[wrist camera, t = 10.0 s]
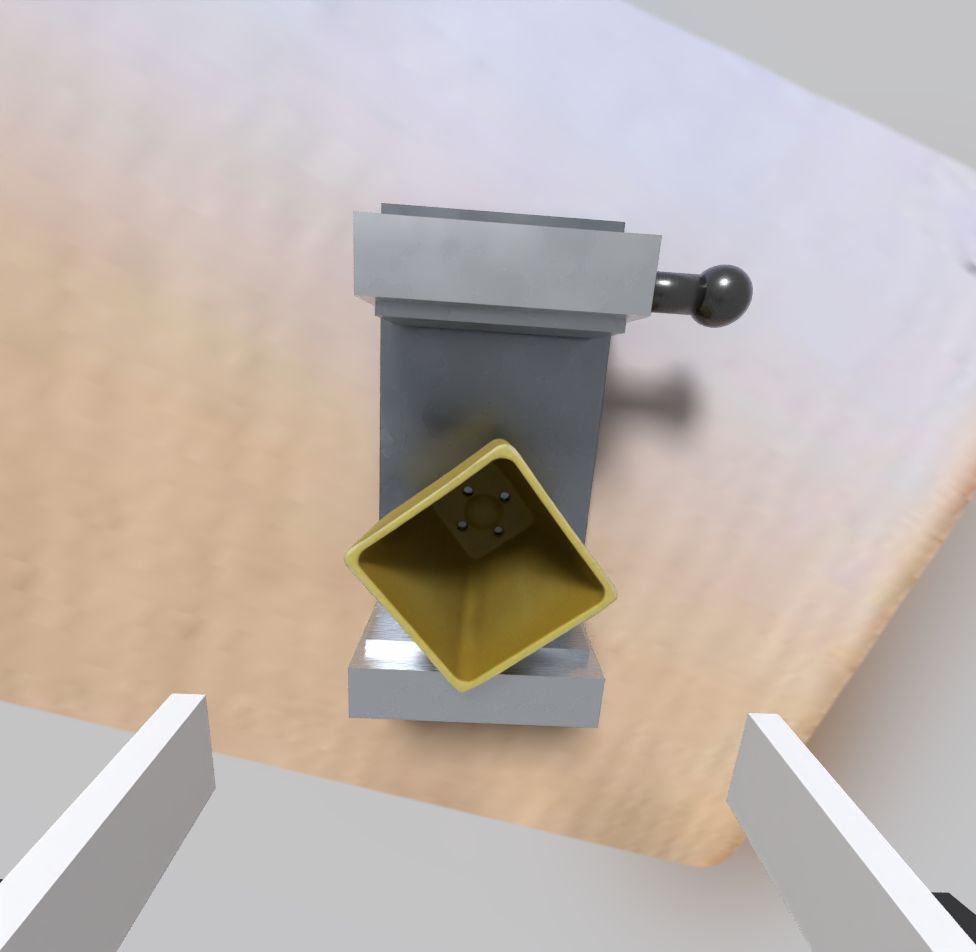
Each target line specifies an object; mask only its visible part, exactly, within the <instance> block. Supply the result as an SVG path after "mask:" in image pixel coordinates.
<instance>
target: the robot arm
mask: <svg viewBox="0 0 976 952" xmlns="http://www.w3.org/2000/svg"><path fill="white" fill-rule="evenodd" d="M215 788H216V787H215V777H214V768H213V758H212V749H211V740H210V730H209V721H208V711H207V702H206V695H200V694H171V695H170V697H169V698H168V699H167V700H166V701H165V702H164V703H163V704H162V705H161V707H160V708H159V709H158V710H157V711H156V712H155V713H154V714H153V715H152V716H151V718H150V719H149V720H148V721H147V722H146V723H145V724H144V725H143V726H142V727H141V729H140V730H139V731H138V732H137V733H136V734H135V735H134V736H133V737H132V739H131V740H130V741H129V742H128V743H127V744H126V745H125V746H124V747H123V748H122V749H121V751H120V752H119V753H118V754H117V755H116V756H115V757H114V758H113V759H112V760H111V762H110V763H109V764H108V765H107V766H106V767H105V768H104V769H103V770H102V772H101V773H100V774H99V775H98V776H97V777H96V778H95V779H94V780H93V781H92V783H91V784H90V785H89V786H88V787H87V788H86V789H85V790H84V791H83V792H82V794H81V795H80V796H79V797H78V798H77V799H76V800H75V801H74V802H73V804H72V805H71V806H70V807H69V808H68V809H67V810H66V811H65V812H64V813H63V815H62V816H61V817H60V818H59V819H58V820H57V821H56V822H55V823H54V824H53V826H52V827H51V828H50V829H49V830H48V831H47V832H46V833H45V834H44V835H43V837H42V838H41V839H40V840H39V841H38V842H37V843H36V844H35V845H34V846H33V848H32V849H31V850H30V851H29V852H28V853H27V854H26V855H25V856H24V857H23V859H22V860H21V861H20V862H19V863H18V864H17V865H16V866H15V867H14V869H13V870H12V871H11V872H10V873H9V874H8V875H7V876H6V877H5V878H4V879H0V952H117V950H118V948H119V947H120V945H121V943H122V942H123V940H124V938H125V937H126V935H127V933H128V932H129V930H130V928H131V927H132V925H133V923H134V922H135V920H136V918H137V917H138V915H139V914H140V912H141V910H142V908H143V907H144V905H145V904H146V902H147V900H148V899H149V897H150V895H151V894H152V892H153V890H154V889H155V887H156V885H157V884H158V882H159V880H160V879H161V877H162V876H163V874H164V872H165V871H166V869H167V867H168V866H169V864H170V862H171V861H172V859H173V857H174V856H175V854H176V852H177V851H178V849H179V847H180V846H181V844H182V843H183V841H184V839H185V837H186V836H187V834H188V833H189V831H190V829H191V828H192V826H193V824H194V823H195V821H196V819H197V818H198V816H199V814H200V813H201V811H202V810H203V808H204V806H205V805H206V803H207V801H208V800H209V798H210V796H211V795H212V793H213V791H214V790H215ZM726 801H727V803H728V805H729V806H730V808H731V810H732V812H733V813H734V815H735V817H736V819H737V820H738V822H739V824H740V826H741V827H742V829H743V831H744V833H745V834H746V836H747V838H748V839H749V841H750V843H751V845H752V847H753V848H754V850H755V852H756V854H757V855H758V857H759V859H760V861H761V862H762V864H763V866H764V868H765V869H766V871H767V873H768V874H769V876H770V878H771V880H772V882H773V883H774V885H775V887H776V889H777V890H778V892H779V894H780V896H781V897H782V899H783V901H784V903H785V904H786V906H787V908H788V910H789V911H790V913H791V915H792V917H793V918H794V920H795V922H796V924H797V925H798V927H799V929H800V931H801V932H802V934H803V936H804V938H805V939H806V941H807V943H808V945H809V946H810V948H811V950H812V951H813V952H976V915H975V914H974V913H973V912H971V911H970V910H969V909H968V908H967V907H965V906H964V905H963V904H962V903H960V902H959V901H958V900H957V899H956V898H954V897H953V896H952V895H951V894H950V893H933V892H930V891H929V890H928V888H927V887H926V886H925V885H924V884H923V883H922V882H921V880H920V879H919V878H918V877H917V876H916V874H915V873H914V872H913V871H912V870H911V869H910V868H909V866H908V865H907V864H906V863H905V862H904V861H903V859H902V858H901V857H900V856H899V855H898V853H896V851H895V850H894V849H893V848H892V847H891V845H890V844H889V843H888V842H887V841H886V840H885V838H884V837H883V836H882V835H881V834H880V832H879V831H878V830H877V829H876V828H875V827H874V825H873V824H872V823H871V822H870V821H869V820H868V818H867V817H866V816H865V815H864V814H863V813H862V812H861V810H860V809H859V808H858V807H857V806H856V805H855V803H854V802H853V801H852V800H851V799H850V798H849V796H848V795H847V794H846V793H845V792H844V791H843V789H842V788H841V787H840V786H839V785H838V784H837V782H836V781H835V780H834V779H833V778H832V777H831V775H830V774H829V773H828V772H827V771H826V770H825V769H824V767H823V766H822V765H821V764H820V763H819V761H818V760H817V759H816V758H815V757H814V756H813V754H812V753H811V752H810V751H809V750H808V749H807V747H806V746H805V745H804V744H803V743H802V742H801V740H800V739H799V738H798V737H797V736H796V735H795V733H794V732H793V731H792V730H791V729H790V728H789V726H788V725H787V724H786V723H785V722H784V721H783V719H782V718H781V717H780V716H779V715H778V714H760V713H748V715H747V719H746V723H745V727H744V731H743V735H742V739H741V743H740V747H739V751H738V755H737V759H736V763H735V768H734V772H733V776H732V780H731V784H730V788H729V792H728V796H727V800H726Z"/></svg>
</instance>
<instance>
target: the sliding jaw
mask: <svg viewBox="0 0 976 952" xmlns="http://www.w3.org/2000/svg"><path fill="white" fill-rule="evenodd" d="M353 217H354V295H355V296H357V297H359V298H361V299H363V300H364V301H366V302H368V303H370V304H372V305H374V306H375V316H377V317H380V318H382V319H384V320H386V321H389V322H391V323H393V324H395V325H407V326H421V327H436V328H450V329H464V330H479V331H493V332H507V333H521V334H536V335H550V336H564V337H579V338H593V339H597V338H602V337H607V336H612V335H617V334H622V333H625V326H626V323H627V322H631V321H634V320H638V319H642V318H645V317H649V316H650V314H651V312H654V313H668V314H682V315H691V317H692V318H693V319H694V320H695V321H696V322H697V323H699V324H701V325H703V326H706V327H711V328H718V327H723V326H727V325H729V324H731V323H733V322H735V321H736V320H737V319H739V318H740V317H741V316H742V315H743V314H744V313H745V311H746V310H747V308H748V307H749V305H750V302H751V299H752V294H753V287H752V282H751V280H750V278H749V276H748V275H747V274H746V273H745V272H744V271H743V270H742V269H740V268H738V267H736V266H733V265H718V266H714V267H711V268H709V269H707V270H706V271H704V272H703V273H701V274H700V275H699V274H685V273H672V272H659V271H657V266H658V259H659V252H660V246H661V239H662V235H650V234H637V233H624V232H611V231H598V230H585V229H572V228H560V227H547V226H534V225H521V224H508V223H495V222H482V221H469V220H457V219H444V218H431V217H418V216H405V215H392V214H379V213H366V212H354V211H353Z"/></svg>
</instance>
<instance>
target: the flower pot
mask: <svg viewBox="0 0 976 952" xmlns="http://www.w3.org/2000/svg"><path fill="white" fill-rule="evenodd" d="M465 487H471V488H472V489H473V493H472V494H471V495H466V494H465V493H464V488H465ZM503 492H506V493H508V494H509V499H508V500H507V501H502V500H501V498H500V495H501V494H502V493H503ZM461 521H464V522H466V523H467V527H466V528H465V529H460V528H459V527H458V523H459V522H461ZM496 527H501V528H502V529H503V533H502V534H501V535H496V534H495V533H494V529H495V528H496ZM344 561H345V563H346V565H347V566H348V568H349V569H350V570H351V571H352V572H353V574H354V575H355V576H356V577H357V578H358V579H359V580H360V581H361V582H362V584H363V585H364V586H365V587H366V588H367V589H368V590H369V591H370V593H371V594H372V595H373V596H374V597H375V598H376V599H377V600H378V602H379V603H380V604H381V605H382V606H383V607H384V608H385V609H386V610H387V611H388V613H389V614H390V615H391V616H392V617H393V618H394V620H395V621H396V622H397V623H398V624H399V625H400V626H401V628H402V629H403V630H404V631H405V632H406V633H407V634H408V636H409V637H410V638H411V639H412V640H413V642H414V643H415V644H416V645H417V646H418V647H419V648H420V649H421V650H422V652H423V653H424V654H425V655H426V656H427V658H428V659H429V660H430V661H431V663H432V664H433V665H434V666H435V667H436V668H437V669H438V670H439V671H440V673H441V674H442V675H443V676H444V677H445V678H446V680H447V681H448V682H449V683H450V684H451V685H452V686H453V687H454V688H455V689H456V690H457V691H458V692H460V693H464V692H467V691H469V690H472V689H474V688H476V687H478V686H480V685H481V684H483V683H484V682H486V681H488V680H490V679H491V678H493V677H495V676H497V675H498V674H500V673H501V672H503V671H505V670H506V669H508V668H509V667H511V666H513V665H514V664H516V663H517V662H519V661H521V660H522V659H524V658H526V657H527V656H529V655H531V654H532V653H534V652H535V651H537V650H538V649H540V648H542V647H543V646H545V645H546V644H548V643H550V642H551V641H553V640H555V639H556V638H558V637H560V636H561V635H563V634H565V633H566V632H568V631H569V630H571V629H572V628H574V627H576V626H578V625H579V624H581V623H583V622H585V621H586V620H588V619H590V618H591V617H593V616H594V615H596V614H597V613H599V612H600V611H602V610H603V609H605V608H606V607H607V606H608V605H610V604H611V603H612V602H613V601H615V600H616V599H617V597H618V595H617V591H616V589H615V587H614V585H613V584H612V583H611V581H610V580H609V579H608V577H607V576H606V575H605V573H604V572H603V570H602V569H601V568H600V566H599V565H598V564H597V562H596V561H595V560H594V558H593V557H592V556H591V554H590V553H589V551H588V550H587V549H586V547H585V546H584V545H583V543H582V542H581V540H580V539H579V538H578V536H577V535H576V534H575V532H574V531H573V529H572V528H571V527H570V525H569V524H568V523H567V521H566V520H565V518H564V517H563V516H562V514H561V513H560V511H559V510H558V509H557V507H556V506H555V504H554V503H553V501H552V500H551V499H550V497H549V496H548V494H547V493H546V491H545V490H544V489H543V487H542V486H541V484H540V483H539V481H538V480H537V479H536V477H535V476H534V474H533V473H532V471H531V470H530V468H529V467H528V465H527V464H526V463H525V461H524V460H523V458H522V457H521V455H520V454H519V453H518V452H517V450H516V449H515V448H514V447H513V446H512V445H511V444H509V443H508V442H507V441H506V440H504V439H495V440H493V441H491V442H489V443H488V444H487V445H485V446H484V447H483V448H481V449H480V450H479V451H477V452H476V453H475V454H473V455H472V456H470V457H469V458H468V459H466V460H465V461H463V462H462V463H461V464H459V465H458V466H457V467H455V468H454V469H452V470H451V471H450V472H448V473H447V474H445V475H444V476H442V477H441V478H440V479H438V480H437V481H435V482H434V483H432V484H431V485H429V486H428V487H427V488H425V489H424V490H422V491H421V492H419V493H418V494H416V495H415V496H413V497H412V498H411V499H409V500H408V501H406V502H405V503H403V504H402V505H400V506H399V507H397V508H396V509H394V510H393V511H391V512H390V513H388V514H387V515H386V516H385V517H383V518H382V519H381V520H380V521H379V522H378V523H377V524H376V525H375V526H374V527H373V528H372V529H371V530H369V531H368V532H367V533H366V534H365V535H364V536H363V537H362V538H361V539H360V540H359V541H358V542H357V543H355V544H354V545H353V546H352V547H351V548H350V549H349V550H348V551H347V553H346V555H345V557H344Z"/></svg>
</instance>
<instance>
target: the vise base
mask: <svg viewBox="0 0 976 952" xmlns="http://www.w3.org/2000/svg"><path fill="white" fill-rule="evenodd" d="M381 214H392V215H405V216H418V217H431V218H444V219H457V220H469V221H482V222H495V223H508V224H521V225H534V226H547V227H560V228H572V229H585V230H598V231H611V232H624V228H625V222H616V221H603V220H591V219H578V218H565V217H552V216H540V215H527V214H514V213H501V212H489V211H476V210H463V209H450V208H438V207H425V206H412V205H399V204H387V203H381ZM610 338H611V336H607V337H602V338H597V339H593V338H579V337H564V336H550V335H536V334H521V333H507V332H493V331H479V330H464V329H450V328H436V327H421V326H407V325H395V324H393V323H391V322H389V321H386V320H384V319H382V318H381V352H380V503H379V521H380V520H381V519H382V518H383V517H385V516H386V515H387V514H388V513H390V512H391V511H393V510H394V509H396V508H397V507H399V506H400V505H402V504H403V503H405V502H406V501H408V500H409V499H411V498H412V497H413V496H415V495H416V494H418V493H419V492H421V491H422V490H424V489H425V488H427V487H428V486H429V485H431V484H432V483H434V482H435V481H437V480H438V479H440V478H441V477H442V476H444V475H445V474H447V473H448V472H450V471H451V470H452V469H454V468H455V467H457V466H458V465H459V464H461V463H462V462H463V461H465V460H466V459H468V458H469V457H470V456H472V455H473V454H475V453H476V452H477V451H479V450H480V449H481V448H483V447H484V446H485V445H487V444H488V443H489V442H491V441H493V440H495V439H504V440H506V441H507V442H508V443H509V444H511V445H512V446H513V447H514V448H515V449H516V450H517V452H518V453H519V454H520V455H521V457H522V458H523V460H524V461H525V463H526V464H527V465H528V467H529V468H530V470H531V471H532V473H533V474H534V476H535V477H536V479H537V480H538V481H539V483H540V484H541V486H542V487H543V489H544V490H545V491H546V493H547V494H548V496H549V497H550V499H551V500H552V501H553V503H554V504H555V506H556V507H557V509H558V510H559V511H560V513H561V514H562V516H563V517H564V518H565V520H566V521H567V523H568V524H569V525H570V527H571V528H572V529H573V531H574V532H575V534H576V535H577V536H578V538H579V539H580V540H581V542H582V543H583V545H584V544H585V536H586V528H587V520H588V512H589V504H590V496H591V488H592V480H593V473H594V465H595V457H596V449H597V441H598V433H599V425H600V417H601V409H602V402H603V394H604V386H605V378H606V370H607V362H608V354H609V346H610ZM464 493H465V494H466V495H471V494H472V493H473V489H472V488H471V487H465V488H464ZM500 498H501V500H502V501H507V500H508V499H509V494H508V493H506V492H503V493H502V494H501V495H500ZM458 527H459V528H460V529H465V528H466V527H467V523H466V522H464V521H461V522H459V523H458ZM494 533H495V534H496V535H501V534H502V533H503V529H502V528H501V527H496V528H495V529H494ZM604 682H605V678H604V675H603V673H602V670H601V668H600V665H599V663H598V660H597V657H596V655H595V652H594V650H593V647H592V645H591V642H590V640H589V637H588V635H587V632H586V630H585V627H584V624H583V623H581V624H579V625H578V626H576V627H574V628H572V629H571V630H569V631H568V632H566V633H565V634H563V635H561V636H560V637H558V638H556V639H555V640H553V641H551V642H550V643H548V644H546V645H545V646H543V647H542V648H540V649H538V650H537V651H535V652H534V653H532V654H531V655H529V656H527V657H526V658H524V659H522V660H521V661H519V662H517V663H516V664H514V665H513V666H511V667H509V668H508V669H506V670H505V671H503V672H501V673H500V674H498V675H497V676H495V677H493V678H491V679H490V680H488V681H486V682H484V683H483V684H481V685H480V686H478V687H476V688H474V689H472V690H469V691H467V692H464V693H460V692H458V691H457V690H456V689H455V688H454V687H453V686H452V685H451V684H450V683H449V682H448V681H447V680H446V678H445V677H444V676H443V675H442V674H441V673H440V671H439V670H438V669H437V668H436V667H435V666H434V665H433V664H432V663H431V661H430V660H429V659H428V658H427V656H426V655H425V654H424V653H423V652H422V650H421V649H420V648H419V647H418V646H417V645H416V644H415V643H414V642H413V640H412V639H411V638H410V637H409V636H408V634H407V633H406V632H405V631H404V630H403V629H402V628H401V626H400V625H399V624H398V623H397V622H396V621H395V620H394V618H393V617H392V616H391V615H390V614H389V613H388V611H387V610H386V609H385V608H384V607H383V606H382V605H381V604H380V603H379V602H378V600H377V602H376V605H375V607H374V609H373V611H372V614H371V616H370V618H369V621H368V623H367V625H366V628H365V630H364V632H363V635H362V637H361V639H360V642H359V644H358V646H357V648H356V651H355V653H354V655H353V658H352V660H351V662H350V665H349V667H348V686H349V718H371V719H395V720H419V721H443V722H467V723H491V724H515V725H539V726H563V727H587V728H598V722H599V716H600V709H601V702H602V696H603V689H604Z"/></svg>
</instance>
